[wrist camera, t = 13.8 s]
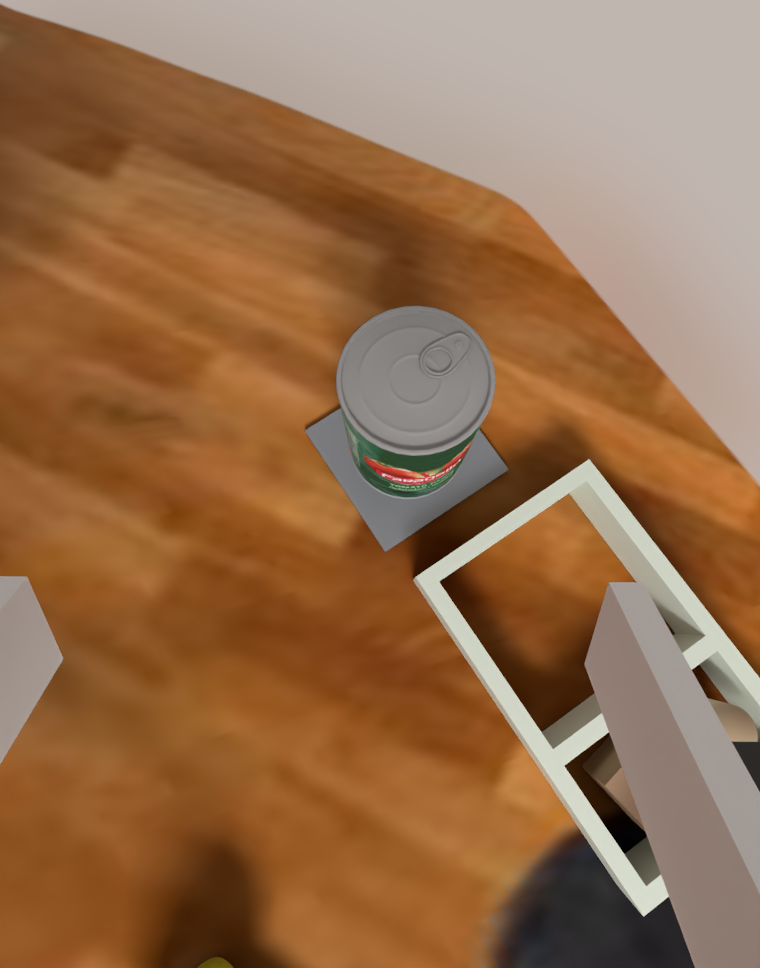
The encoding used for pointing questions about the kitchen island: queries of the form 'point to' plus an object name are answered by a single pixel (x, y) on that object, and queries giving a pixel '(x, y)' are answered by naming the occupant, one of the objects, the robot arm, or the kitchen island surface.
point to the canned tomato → (413, 398)
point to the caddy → (586, 721)
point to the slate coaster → (394, 515)
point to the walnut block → (612, 778)
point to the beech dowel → (735, 722)
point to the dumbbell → (216, 963)
